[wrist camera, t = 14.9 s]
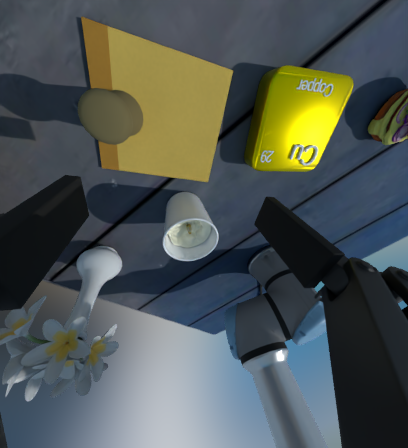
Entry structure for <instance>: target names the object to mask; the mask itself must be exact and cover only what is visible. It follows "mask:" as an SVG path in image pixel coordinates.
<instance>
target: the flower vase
mask: <svg viewBox="0 0 408 448" xmlns="http://www.w3.org/2000/svg"><path fill="white" fill-rule="evenodd" d="M76 268H77V271H78V273H79V275H80V276H81V277H82V286H81V290H80V293H79V295H78V298H77V300H76V303H75V305H74V308H73V310H72V312H71V314H70V316H69V318H68V320H67V321H66V323H65V324H64V326H62V325H61V324H60V323H59V322H57V321H56V320H53V319H50V320H47V321H46V322H45V323H44V325H43V334H44V336H45V338H46V339H47V340H40V339H37V338H35V337H33V336H32V335H31V334H30V333H28V329H29V327H30V326H31V324H32V322H33V319H34V317H35V315H36V313H37V311H38V310H39V308H40V307H41V305H42V304H43V302H44V300H45V299H46V297H47V296H44V297H42V298H41V299H39V300H38V301H37V302H36V303H34V305H33V306H32V307H31V308H30V309H29V311H28V317H27V315H26V312H25V309H24V308H23V307H22V308H21V309H15V310H12V311H11V312H10V313H9V314H8V316H7V317H6V319H5V325H6V326H7V327H8V328H9V329H5V328H1V329H0V345H1V344H3V343H5V342H6V346H7V350H8V351H9V353H10V354H12V355H11V359H10V361H9V362H8V364H7V366H6V368H5V371H4V374H3V384H5V383H8V387H7V391H6V396H7V394H8V393H9V391H10V389H11V387H12V385H13V384H14V383H18V382H20V381H23V380H25V379H27V378H29V377H30V376H32V375H33V374H34V375H33V376H32V377H31V378H30V380H29V382H28V384H27V386H26V390H25V399H26V401H31V400H32V399H33V398H34V396H35V395H36V393H37V391H38V389H39V387H40V385H41V382H42V380H43V378H45V382H46V384H52V383H54V382H55V381H56V379H57V378H58V377H59V375H60V377H61V378H63V379H62V380H61V381H60V382H59V383H58V384H57V386H56V387H55V388H54V389H53V391H52V392H51V395H50V396H51V397H56V396H58V395H60V394H62V393H63V392H64V391H65V390H67V389H68V388H69V387H70V386H71V385H72V383H73V382H74V380H75V388H76V392H77V393H78V394H79V395H80V396H84V395H86V394H87V393H88V392H89V390H90V387H91V375H90V371H91V372H92V374H93V379H94V381H95V382H97V381H98V380H99V379H100V377H101V375H102V372H103V371H104V370H106V369H107V368H108V365H107V364H106V363H103V359H102V358H101V357H100V356H102V357H106V356H109V355H111V354H113V353H114V352H115V351H116V350H117V348H118V346H119V345H118V343H117V342H115V341H113V342H106V341H108V340H110V339H111V337H112V336H113V335H114V333H115V331H116V328H117V324H115V325H113V326H112V327H111V328H110V329H109V330H108V331H107V332H106V333H105V334H104V336H102V337H100V336H97V337H95V338H94V339H93V341H92V343H91V345H90V347H89V345H88V344H87V343H86V342H85V341H86V339H87V336H88V335H87V326H88V321H89V317H90V313H91V310H92V308H93V305H94V303H95V300H96V298H97V295H98V293H99V291H100V289H101V287H102V286H103V285H104V283H105V282H106V281H108V280H110V279H112V278H114V277H115V276H116V275H117V274H118V273H119V272H120V270H121V268H122V259H121V258H120V256H119V255H118V253H117V252H116V250H114V249H113V248H111V247H108V246H97V247H95V248H93V249H89V250H87V251H85V252H83V253H82V254H81V255H80V256H79V258H78V259H77V263H76ZM20 336H24V337H25V338H27V339H28V340H30V341H32V342H35V343H39V344H42V345H40V346H38V347H36V346H35V345H33V344H31V343H26V344H24V343H23V342H21V341H20V340H19V339H18V338H17V337H20ZM83 357H84V358H83ZM6 396H5V397H6Z"/></svg>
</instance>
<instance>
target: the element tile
mask: <svg viewBox="0 0 408 448" xmlns="http://www.w3.org/2000/svg"><path fill="white" fill-rule="evenodd" d="M352 89H353V79H352V78H351V77H350V76H347V75H342V74H336V73H330V72H324V71H318V70H312V69H307V68H301V67H295V66H289V65H287V66H282V67H279V68H276V69H273V70H270V71H268V72H266V73H265V74H264V75H263V77H262V79H261V81H260V83H259V86H258V91H257V96H256V101H255V105H254V110H253V115H252V120H251V125H250V130H249V134H248V139H247V144H246V149H245V154H244V159H245V162H246V164H248V165H249V166H251V167H252V168H254V169H255V170H257V171H299V172H306V171H310V170H312V169H314V168H315V167H316V166H317V164H318V163H319V161H320V159H321V157H322V155H323V152H324V150H325V148H326V146H327V144H328V142H329V140H330V138H331V135H332V133H333V131H334V129H335V127H336V125H337V123H338V121H339V118H340V116H341V114H342V112H343V110H344V108H345V106H346V104H347V101H348V99H349V97H350V95H351V93H352Z"/></svg>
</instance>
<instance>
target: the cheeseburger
mask: <svg viewBox="0 0 408 448" xmlns="http://www.w3.org/2000/svg"><path fill="white" fill-rule="evenodd" d="M368 132H369V134H371V136H372V137H373V138H374V140H377V141H381V142H382V144H384V145H389V144H393V143H396V142H401V141H403V140H405V139H406V138H408V89H406V90H402V91H399V92H397V93H396V94H394V95H393V96H392V97H391V98H390V99H389V100H388V101H387V102H386V103H385V105H384V106H383V107H382V108H381V109H380V111H379V112H378V114H377V115H376V117H375V119H373V120H372V121H371V122H370V124H369V126H368Z"/></svg>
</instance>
